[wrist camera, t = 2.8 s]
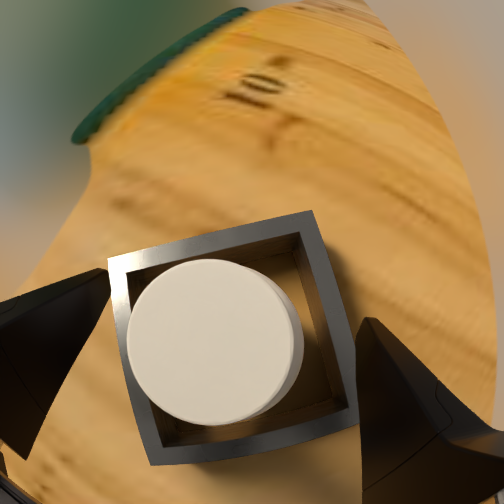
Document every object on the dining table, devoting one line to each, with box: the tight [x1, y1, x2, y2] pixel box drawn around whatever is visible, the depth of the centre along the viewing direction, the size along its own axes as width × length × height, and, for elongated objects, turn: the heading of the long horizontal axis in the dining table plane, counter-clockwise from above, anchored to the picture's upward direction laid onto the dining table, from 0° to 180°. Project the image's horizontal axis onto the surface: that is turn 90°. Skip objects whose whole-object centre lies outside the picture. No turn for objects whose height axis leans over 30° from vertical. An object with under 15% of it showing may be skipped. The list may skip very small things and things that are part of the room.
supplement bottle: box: [127, 259, 304, 426], centre depth 11 cm, size 5×5×10 cm
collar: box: [108, 210, 360, 466], centre depth 14 cm, size 11×11×3 cm
